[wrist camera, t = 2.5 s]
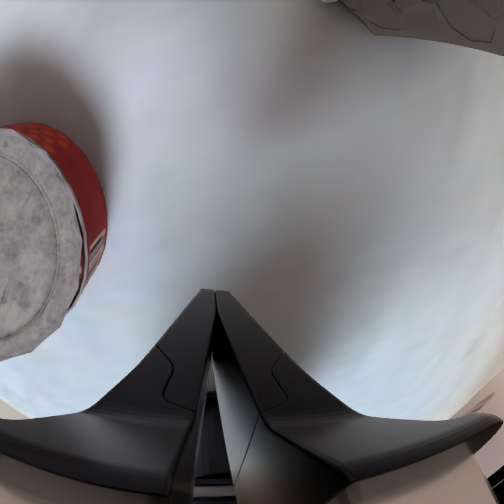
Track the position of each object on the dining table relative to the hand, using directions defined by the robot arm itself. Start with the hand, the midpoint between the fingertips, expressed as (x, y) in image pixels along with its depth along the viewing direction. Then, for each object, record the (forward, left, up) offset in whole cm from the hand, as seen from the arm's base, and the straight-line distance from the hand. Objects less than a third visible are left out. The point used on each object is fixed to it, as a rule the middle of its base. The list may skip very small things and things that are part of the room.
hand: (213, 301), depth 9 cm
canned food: (+10, 0, -6) cm, 12 cm away
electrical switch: (-7, -15, -6) cm, 18 cm away
